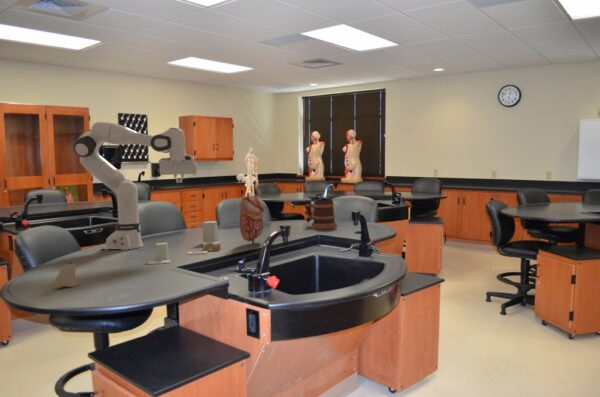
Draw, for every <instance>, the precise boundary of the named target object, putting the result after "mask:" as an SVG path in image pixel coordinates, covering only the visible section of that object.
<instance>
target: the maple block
mask: <svg viewBox="0 0 600 397" xmlns="http://www.w3.org/2000/svg"><path fill="white" fill-rule="evenodd" d="M221 249H222V245H221V241H218V242H204V243H203V242H202V251H209V252H210V251H213V250H214V251H221Z"/></svg>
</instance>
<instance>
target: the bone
mask: <svg viewBox="0 0 600 397" xmlns="http://www.w3.org/2000/svg"><path fill="white" fill-rule="evenodd" d="M76 268H77V263H72V262H66V263H62V266H61V269H60V270H59V272H58V273H57V275H56V277H55V279H54V281H53V287H54V289H55V290H58V289H61V288H68V287H70V288H74V287H77V286H78V285H79V280H77V278H76Z"/></svg>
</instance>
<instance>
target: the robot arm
mask: <svg viewBox="0 0 600 397" xmlns="http://www.w3.org/2000/svg"><path fill="white" fill-rule="evenodd" d="M104 143H105V144H106V143H108V144H113V145H119V146H121V145H123V146H126V145H140V146H146V147H149V148H150V147H151V149H153V150H154V151H156V152H159V153H163V154H168V153H169V156H168V157H165V158H164V157H161V159H159V160H158V165H159V175H161V176H165V175H166V176H167V175H171V176H173V178H174V179H175V182H176V183H175V184H178V183H183V179H184V176H185V175H192V174H193V175H194V174H197V173H198V166H197V163H196V161H195V157H194V156H193V155H190V154H187V151H186V135H185V132H184V130H183V129H181V128H176V127H169V128H168V129H167V130H165V131H164V132H161V133H158V134H156V135H150V134H144V133H141V132H138V131H135V130H133V129H131V128H129V127H127V126H125V125H121V124H117V123H114V122H105V121H96V122H95V123H93V125H92V126H91V129H88V130H87V131H85V132H83V133H82V134H81V135H80V136H79V137H78V138H76V140H75V141H74V143H73V145H72V146H73V151H74V153H75V154H76V155H77V156H79V162H80V164H81V165H82V166H83V168H84V169H85V170H86V171H87V172H88V173H90V174H91V175H92V176H94V177H95V178H96V179H97V180H98V181H100V182H101V183H102V184H103V185H104V186H106V187H107V188H109V189H110V190H111V191H112V192H114V193H115V194H116V197H117V198H116V200H117V213H118V214H117V215H118V216H117V217H118V223H117V224H116V225H115V227H114V228H115V231H114V232H112V233H111V234H110V235H109V236H108V237H107V238H106V239H105V240H106V241H105V245H104V246H105V247H104V246H102V247H101V250H102V249H121V250H120V251H129V250H133V249H139V248H142V247H144V243H143V241H142V236H141V222H140V216H139V194H138V193H139V192H138V191H139V190H138V187H137V186H138V185H136V183H134V182H133V181H132V180H131V179H130V178H128V177H127V176H126V175H125V174H124V173H122V172H121V170H119V169H118V168H116V167H115V166H114V165H113V164H112V163H111V162H109V161H108V160H107V159H106V158H104V157H103V156H102V155H101V154H100V152H99V151H101V150H102V148H103V145H104ZM178 175H180V177H181V178H180V179H179V178H178ZM103 247H104V248H103ZM128 249H129V250H128Z"/></svg>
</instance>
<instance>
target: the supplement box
mask: <svg viewBox="0 0 600 397" xmlns="http://www.w3.org/2000/svg"><path fill="white" fill-rule="evenodd" d="M201 226H202V241H203V242H202V244H203V243H204V242H219V233H218V220H211V221H210V220H209V221H204V222H202V223H201Z"/></svg>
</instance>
